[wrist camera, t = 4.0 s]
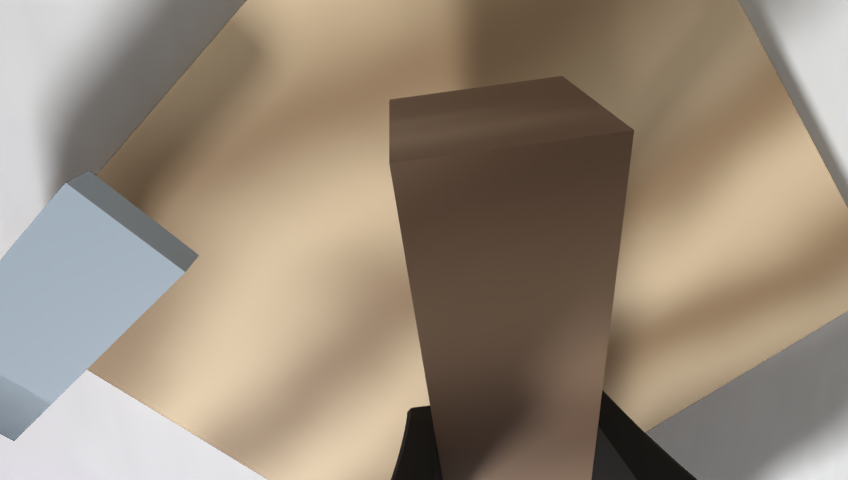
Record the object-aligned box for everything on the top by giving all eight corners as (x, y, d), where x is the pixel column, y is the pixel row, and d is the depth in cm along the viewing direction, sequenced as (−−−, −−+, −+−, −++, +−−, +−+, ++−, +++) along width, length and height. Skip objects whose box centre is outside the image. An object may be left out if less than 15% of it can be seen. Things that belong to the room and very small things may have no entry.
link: (567, 545, 19) (596, 644, 16) (439, 561, 19) (447, 663, 16) (608, 69, 9) (699, 121, 6) (343, 106, 9) (325, 171, 7)
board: (868, 275, 18) (888, 286, 17) (415, 553, 24) (416, 569, 23) (541, -330, 10) (551, -355, 10) (1, 293, 16) (-17, 306, 16)
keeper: (245, 199, 14) (185, 272, 10) (110, 333, 16) (14, 440, 12) (166, 131, 13) (65, 182, 9) (31, 283, 15) (-102, 380, 11)
